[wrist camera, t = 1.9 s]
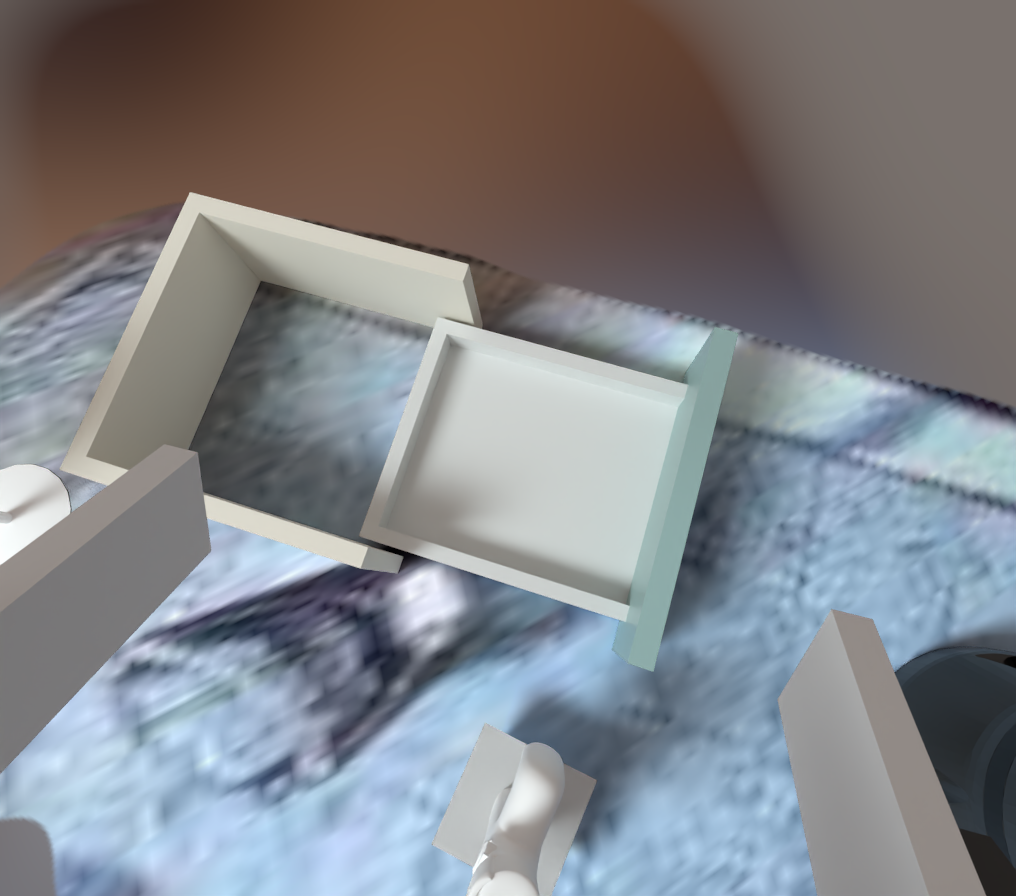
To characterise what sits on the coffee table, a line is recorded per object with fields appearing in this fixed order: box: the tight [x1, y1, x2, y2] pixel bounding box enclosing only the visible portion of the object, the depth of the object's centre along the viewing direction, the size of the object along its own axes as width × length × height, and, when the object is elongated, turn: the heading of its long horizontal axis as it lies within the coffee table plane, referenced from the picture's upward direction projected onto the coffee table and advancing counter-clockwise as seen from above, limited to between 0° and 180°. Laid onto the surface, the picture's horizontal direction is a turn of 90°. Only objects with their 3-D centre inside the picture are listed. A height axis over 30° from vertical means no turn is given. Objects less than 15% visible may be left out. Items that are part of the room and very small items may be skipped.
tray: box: [359, 317, 738, 672], centre depth 40 cm, size 19×20×8 cm
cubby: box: [59, 193, 483, 573], centre depth 42 cm, size 19×19×9 cm
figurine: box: [432, 723, 597, 896], centre depth 32 cm, size 7×9×15 cm
